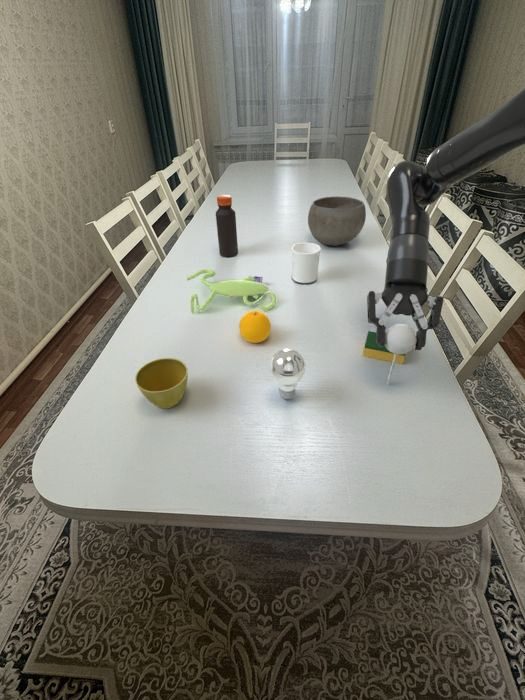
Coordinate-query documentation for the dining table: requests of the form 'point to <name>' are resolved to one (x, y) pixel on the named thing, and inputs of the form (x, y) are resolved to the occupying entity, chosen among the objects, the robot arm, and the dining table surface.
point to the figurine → (233, 289)
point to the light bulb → (287, 371)
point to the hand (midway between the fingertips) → (399, 347)
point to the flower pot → (163, 381)
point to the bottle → (226, 227)
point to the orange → (255, 326)
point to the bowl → (336, 219)
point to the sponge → (379, 350)
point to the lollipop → (399, 341)
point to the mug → (305, 262)
